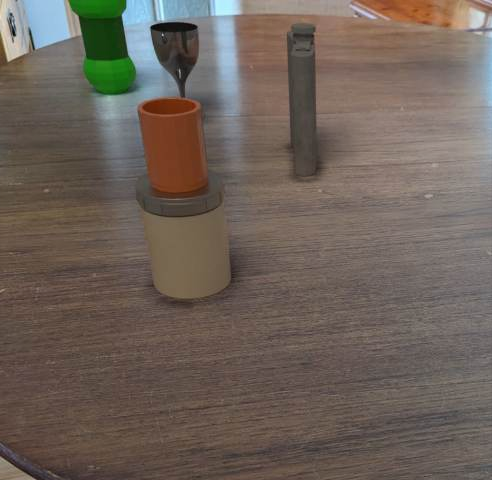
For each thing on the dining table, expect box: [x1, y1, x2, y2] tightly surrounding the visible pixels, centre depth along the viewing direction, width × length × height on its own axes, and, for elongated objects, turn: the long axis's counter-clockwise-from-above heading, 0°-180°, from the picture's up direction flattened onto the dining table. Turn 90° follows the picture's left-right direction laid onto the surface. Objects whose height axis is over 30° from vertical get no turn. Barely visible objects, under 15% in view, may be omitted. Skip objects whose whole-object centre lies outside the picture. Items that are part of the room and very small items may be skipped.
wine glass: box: [149, 21, 206, 120], centre depth 128 cm, size 8×8×15 cm
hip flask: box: [286, 22, 318, 177], centre depth 112 cm, size 16×4×20 cm, turn 9°
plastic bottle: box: [67, 0, 137, 95], centre depth 135 cm, size 10×10×25 cm
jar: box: [139, 199, 232, 300], centre depth 82 cm, size 9×9×12 cm
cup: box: [136, 96, 209, 193], centre depth 76 cm, size 6×6×8 cm
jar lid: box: [134, 168, 226, 216], centre depth 79 cm, size 9×9×2 cm
